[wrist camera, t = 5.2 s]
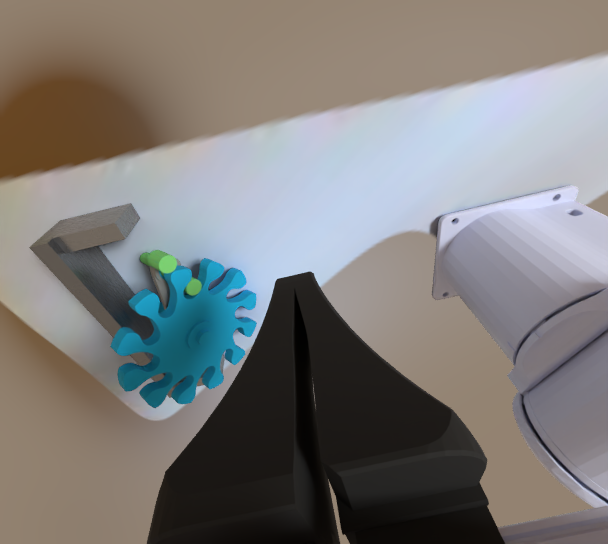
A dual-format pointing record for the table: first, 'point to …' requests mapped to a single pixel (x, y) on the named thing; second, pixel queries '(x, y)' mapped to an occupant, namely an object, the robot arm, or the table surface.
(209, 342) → the gear
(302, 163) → the table surface
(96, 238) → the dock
